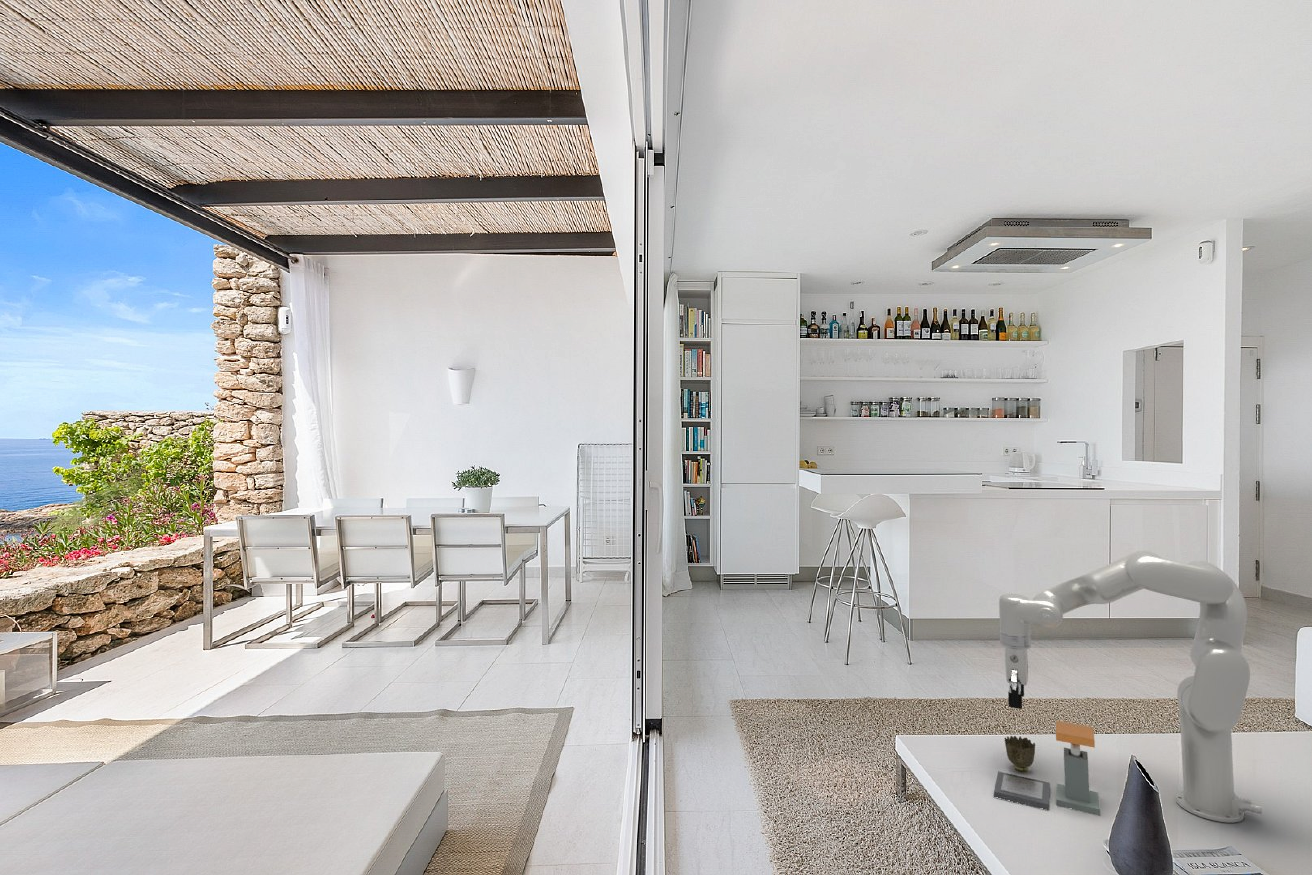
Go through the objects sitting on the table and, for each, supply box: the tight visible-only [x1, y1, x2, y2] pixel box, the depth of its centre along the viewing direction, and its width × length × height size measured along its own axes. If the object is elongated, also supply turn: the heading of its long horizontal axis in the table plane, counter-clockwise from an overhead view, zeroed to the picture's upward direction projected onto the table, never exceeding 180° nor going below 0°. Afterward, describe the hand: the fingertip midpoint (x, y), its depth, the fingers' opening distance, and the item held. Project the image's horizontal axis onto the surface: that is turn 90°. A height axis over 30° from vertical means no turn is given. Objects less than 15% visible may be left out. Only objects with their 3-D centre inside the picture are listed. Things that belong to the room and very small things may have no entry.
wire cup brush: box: [1004, 735, 1036, 773], centre depth 177 cm, size 8×7×8 cm
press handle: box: [1055, 720, 1096, 757], centre depth 161 cm, size 8×8×12 cm
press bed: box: [993, 771, 1051, 811], centre depth 165 cm, size 12×12×2 cm
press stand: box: [1055, 747, 1101, 817], centre depth 161 cm, size 9×9×12 cm
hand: (1016, 701), depth 177 cm, fingers open, 9 cm apart
